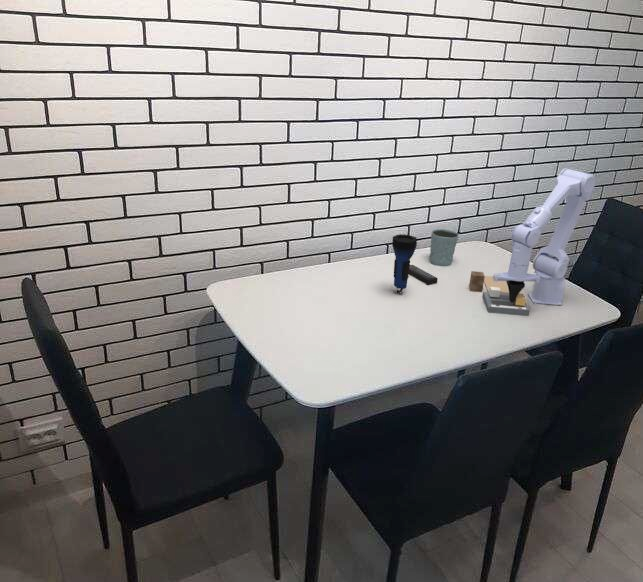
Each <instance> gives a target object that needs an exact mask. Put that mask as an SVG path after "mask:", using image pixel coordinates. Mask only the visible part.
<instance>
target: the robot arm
mask: <svg viewBox="0 0 643 582" xmlns="http://www.w3.org/2000/svg"><path fill="white" fill-rule="evenodd" d="M555 180H556V181H555V187H554V188H553V189H552V191H551V193H549V195H548V196H547V198H546V200H545V201H544V203H542V205H541V206H536V207H535V208H534V210H533V211H531V213H530V214H529V215H528V217H527V218H525V220H524V222H523V223H521V224H518V225H516V226H515V227H514V228H513V230H512V232H511V234H510V239H511V246H512V250H511V255H510V261H509V265H508V271H507V272H501V273H494V274H493V280H494V281H495V282H498V281H506V282H507V285H508V289H509V300H510V301H511V303H514V301H515V299H516V297H517V295H518V294H519V292H520V291H521V290H522V291H523V289H524V288H525V286H526V283H525V282H531V283H532V282H533V288H532V291H529V292H527V294H528V297H529V299H530V300H531V301H532V303H533V304H542V305H555V306H556V305H557V306H562V300H563V298H564V294H565V289H566V278H565V277H564V276H565V275H566V273H567V271H568V264H569V261H570V258H569V256H568V254H567V253H566V251H565V250H566V247H567V245H568V243H569V241H570V238H571V237H572V233H573V232H574V229H575V226H576V224H577V222H578V220H579V217H580V215H581V213H582V210H583V208H584V205H585V202H588V201H589V199H590V197H591V195H592V194H593V190H594V189H595V187H596V186H595V185H596V179H595V176H594V174H592V173H586V172H582V171H579V170H574V169H570V168H568V167H567V168H566V167H565V168H563V169H562V170H561V171H559V174H558V175H557V176H556V179H555ZM565 199H566V203H565V204H564V205H565V206H564V207H563V209H562V213H561V215H560V218H559V220H558V221H557V224H556V227H555V229H554V231H553V233H552V236H551V238H550V241H549V243H548V245H546V246H544V247H541V248H540V249H539V250H538V252H537V254H536V255H535V256H534V258H533V259H532V268H533V270H534V274H533V273H532V274H531V273H528V270H529V267H530V266H529V265H530V262H531V257H532V252H533V247H534V246H535V245H536V244H537V243H538V242H539V239H540V236H541V235H542V230H543V229H544V228H545V227H546V225H548V223H549V222H550V221H551V219H552V213H553V212H554V210H555V209H557V207H558V206H559V205H560V204H561V203H562V202H564V200H565Z"/></svg>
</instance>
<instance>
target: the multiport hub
mask: <svg viewBox="0 0 643 582" xmlns="http://www.w3.org/2000/svg"><path fill="white" fill-rule="evenodd" d="M409 267H410V269H409V275H408V276H411V277H412V278H414V279H416V280H418V281H420V282H421V283H423V284H424V285H427V286H431V285H437V284H438V277H436V276H434V275H432V274H430V273H428V271H425V270H423V269H421V268H419V267H418V266H416V265H414V264H410V266H409Z"/></svg>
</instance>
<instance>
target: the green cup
mask: <svg viewBox="0 0 643 582" xmlns="http://www.w3.org/2000/svg"><path fill="white" fill-rule="evenodd" d="M430 237H431V239H430V240H431V241H430V253H429V263H430V264H432V265H434V266H438V267H449V266H451V265H452V262H453V258H454V254H455V250H456V247H457V243H458V240H459V233H458V232H455V231H453V230H449V229H445V228H440V229H439V228H437V229H433V230H432V231H431V235H430Z"/></svg>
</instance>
